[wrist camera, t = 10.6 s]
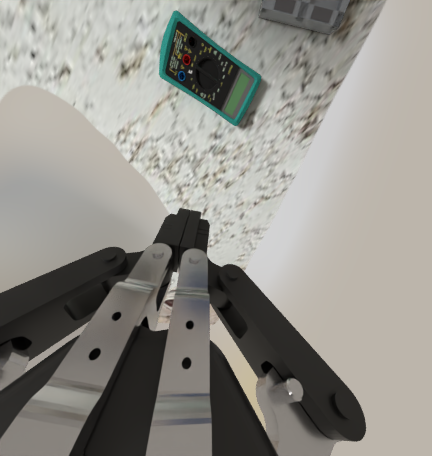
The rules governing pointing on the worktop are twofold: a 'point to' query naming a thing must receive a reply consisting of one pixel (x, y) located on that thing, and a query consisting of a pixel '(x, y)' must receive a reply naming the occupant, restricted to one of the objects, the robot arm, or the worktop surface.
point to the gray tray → (306, 13)
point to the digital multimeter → (206, 70)
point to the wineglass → (170, 298)
